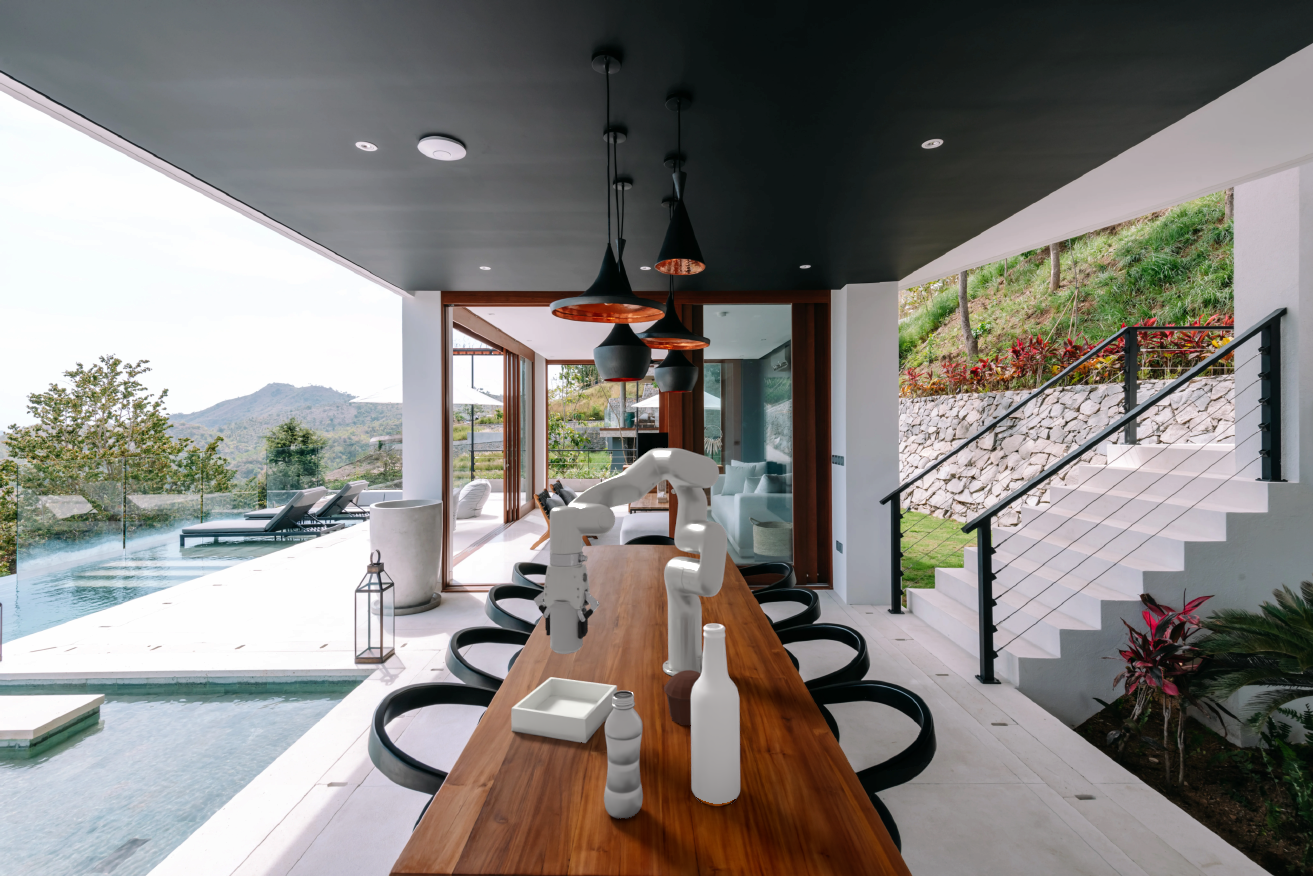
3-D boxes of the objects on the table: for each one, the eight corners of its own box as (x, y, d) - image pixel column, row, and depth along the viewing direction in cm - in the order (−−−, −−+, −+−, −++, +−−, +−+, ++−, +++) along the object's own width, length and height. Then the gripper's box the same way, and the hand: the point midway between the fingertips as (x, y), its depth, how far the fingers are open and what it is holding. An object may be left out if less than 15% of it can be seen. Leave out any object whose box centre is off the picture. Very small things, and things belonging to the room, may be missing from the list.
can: (576, 656, 127) (576, 602, 127) (545, 654, 129) (544, 601, 129) (587, 645, 134) (586, 594, 135) (557, 643, 136) (557, 593, 136)
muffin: (688, 701, 140) (687, 660, 140) (723, 716, 132) (722, 673, 132) (653, 717, 131) (653, 674, 131) (689, 734, 123) (688, 688, 124)
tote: (616, 706, 137) (616, 685, 137) (585, 743, 120) (585, 719, 120) (550, 697, 142) (550, 677, 143) (511, 731, 125) (511, 708, 125)
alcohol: (705, 813, 96) (704, 636, 97) (683, 785, 104) (681, 622, 105) (749, 800, 100) (748, 630, 100) (724, 774, 108) (723, 616, 109)
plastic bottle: (604, 801, 100) (603, 687, 100) (642, 799, 100) (641, 686, 101) (603, 826, 93) (603, 704, 94) (644, 823, 94) (643, 702, 94)
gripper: (606, 558, 133) (607, 633, 132) (541, 554, 138) (541, 627, 138) (593, 564, 126) (594, 644, 125) (524, 560, 131) (525, 637, 131)
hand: (566, 635), depth 132 cm, fingers closed on can, 7 cm apart
